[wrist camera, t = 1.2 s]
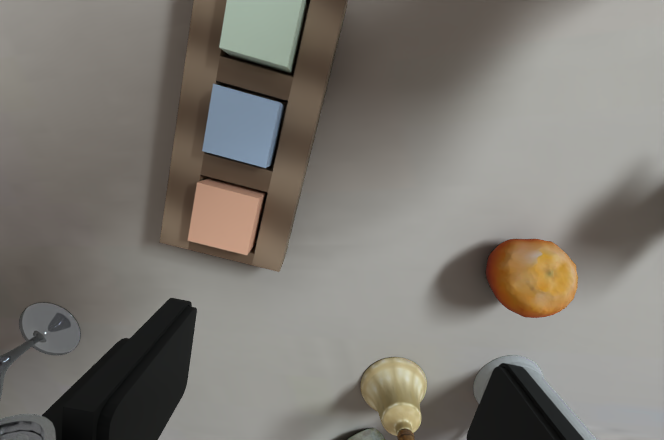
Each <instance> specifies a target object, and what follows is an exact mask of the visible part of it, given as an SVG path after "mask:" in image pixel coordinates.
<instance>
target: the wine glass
mask: <svg viewBox="0 0 664 440" xmlns="http://www.w3.org/2000/svg"><path fill="white" fill-rule="evenodd" d="M19 327H20V331H21V334H22V336H23V337H24V339H25V340H26V342H25V343H23V344H22V345H20V346H18V347H16V348H15V349H13V350H11V351H9V352H7V353H5V354H3V355H1V356H0V399H1V395H2V390H3V382H4V376H5V374H6V371H7V369H8V368H9V366H10V365H11V364H12V363H13V362H14V361H15V360H16V359H17V358H18V357H19V356H21V355H22V354H23V353H24V352H25V351H27V350H28V349H29V348H30V347H33V348H34V349H36V350H38V351H40V352H42V353H45V354H49V355H63V354H67V353H69V352H71V351H72V350H74V349H75V348H76V347H77V345H78V343H79V341H80V336H81V333H80V328H79V325H78V323H77V321H76V319H75V318H74V317H73V316H72V315H71V314H70V313H69V312H68V311H67V310H65V309H64V308H62V307H60V306H58V305H55V304H52V303H44V302H43V303H36V304H33V305H31V306H29V307H27V308H26V309H25V310H24V311H23V312H22V314H21V316H20V320H19Z"/></svg>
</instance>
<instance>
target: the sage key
mask: <svg viewBox="0 0 664 440" xmlns="http://www.w3.org/2000/svg"><path fill="white" fill-rule="evenodd" d="M306 7H307V4H306V0H227V3H226V9H225V15H224V21H223V27H222V33H221V39H220V45H219V48H221V49H222V50H223V51H224V52H226V53H227V54H228V55H230V56H232V57H235V58H239V59H242V60H246V61H249V62H252V63H256V64H259V65H263V66H266V67H270V68H273V69H277V70H280V71H284V72H287V73H291V74H292V71H293V67H294V62H295V58H296V53H297V48H298V44H299V39H300V35H301V30H302V26H303V21H304V16H305V12H306Z"/></svg>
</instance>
